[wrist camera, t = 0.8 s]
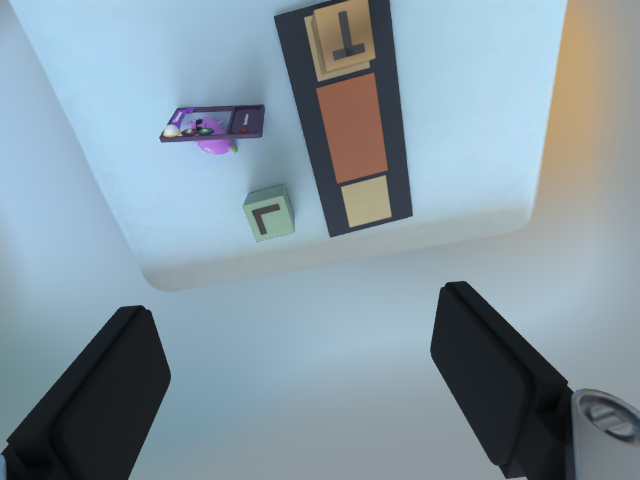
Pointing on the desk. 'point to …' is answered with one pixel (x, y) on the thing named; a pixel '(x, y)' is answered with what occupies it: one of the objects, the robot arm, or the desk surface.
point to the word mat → (350, 124)
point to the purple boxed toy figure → (216, 127)
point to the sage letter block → (269, 213)
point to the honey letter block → (343, 35)
